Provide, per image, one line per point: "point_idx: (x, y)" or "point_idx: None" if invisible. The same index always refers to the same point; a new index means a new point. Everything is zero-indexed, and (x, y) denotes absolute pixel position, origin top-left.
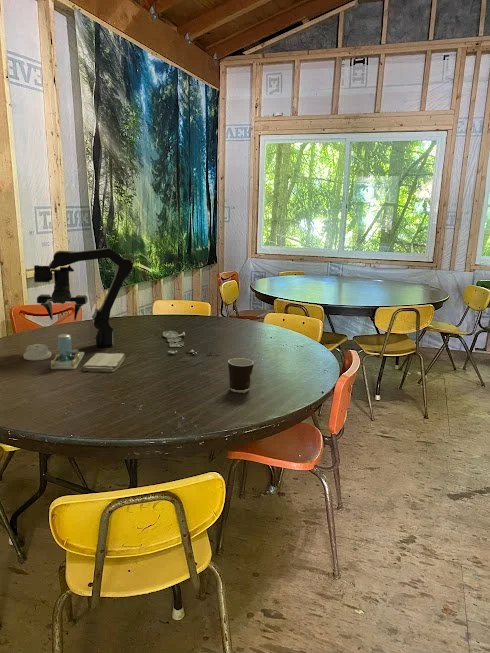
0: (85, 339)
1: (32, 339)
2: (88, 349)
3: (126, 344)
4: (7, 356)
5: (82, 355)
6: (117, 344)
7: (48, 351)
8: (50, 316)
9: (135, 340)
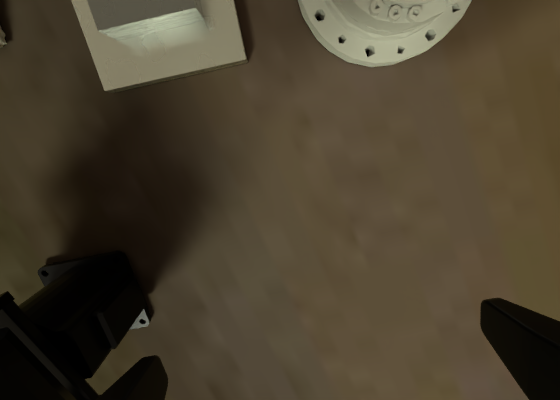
0: (252, 364)
1: None
2: (146, 200)
3: None
4: None
5: (81, 20)
6: None
7: (336, 40)
8: (555, 327)
9: None
